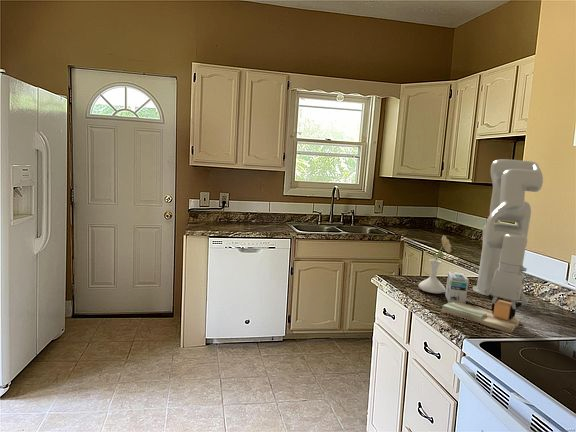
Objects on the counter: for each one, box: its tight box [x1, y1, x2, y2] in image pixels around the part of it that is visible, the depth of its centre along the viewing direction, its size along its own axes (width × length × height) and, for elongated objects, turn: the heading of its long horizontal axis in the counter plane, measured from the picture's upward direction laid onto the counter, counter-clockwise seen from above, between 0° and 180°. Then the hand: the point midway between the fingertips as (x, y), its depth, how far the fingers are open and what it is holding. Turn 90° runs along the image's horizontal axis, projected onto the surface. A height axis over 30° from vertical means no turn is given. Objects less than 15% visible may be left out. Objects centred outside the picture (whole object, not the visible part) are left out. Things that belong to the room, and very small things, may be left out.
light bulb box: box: [444, 270, 470, 304], centre depth 180 cm, size 11×7×11 cm, turn 168°
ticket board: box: [441, 301, 522, 334], centre depth 162 cm, size 14×24×2 cm, turn 50°
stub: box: [493, 299, 512, 320], centre depth 160 cm, size 6×5×5 cm
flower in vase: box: [418, 234, 452, 294], centre depth 189 cm, size 13×11×25 cm
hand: (502, 315), depth 160 cm, fingers closed on stub, 5 cm apart
